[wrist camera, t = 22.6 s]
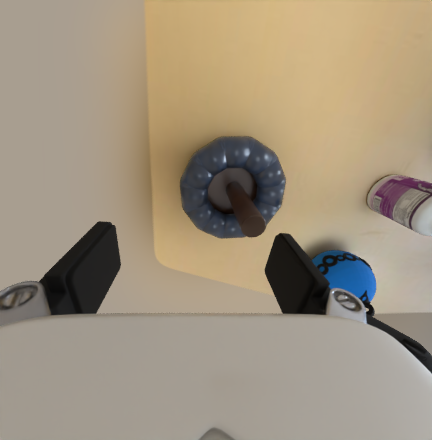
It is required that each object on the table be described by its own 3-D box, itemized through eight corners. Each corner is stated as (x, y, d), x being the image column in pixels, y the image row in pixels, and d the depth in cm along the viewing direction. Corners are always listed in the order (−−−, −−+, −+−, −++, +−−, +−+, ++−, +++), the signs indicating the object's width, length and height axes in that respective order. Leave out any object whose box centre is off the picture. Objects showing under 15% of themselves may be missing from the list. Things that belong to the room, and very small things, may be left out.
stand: (189, 197, 23) (183, 244, 14) (222, 138, 20) (241, 151, 12) (239, 223, 26) (261, 278, 17) (276, 175, 23) (326, 209, 14)
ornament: (339, 229, 28) (404, 278, 19) (352, 263, 31) (411, 318, 23) (287, 256, 29) (325, 313, 21) (305, 286, 33) (344, 345, 24)
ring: (166, 207, 22) (161, 218, 20) (212, 112, 18) (214, 110, 15) (243, 242, 26) (249, 255, 23) (298, 169, 22) (311, 175, 19)
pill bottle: (412, 179, 25) (524, 208, 16) (386, 213, 27) (471, 255, 19) (382, 168, 24) (484, 194, 15) (357, 205, 26) (433, 245, 18)
